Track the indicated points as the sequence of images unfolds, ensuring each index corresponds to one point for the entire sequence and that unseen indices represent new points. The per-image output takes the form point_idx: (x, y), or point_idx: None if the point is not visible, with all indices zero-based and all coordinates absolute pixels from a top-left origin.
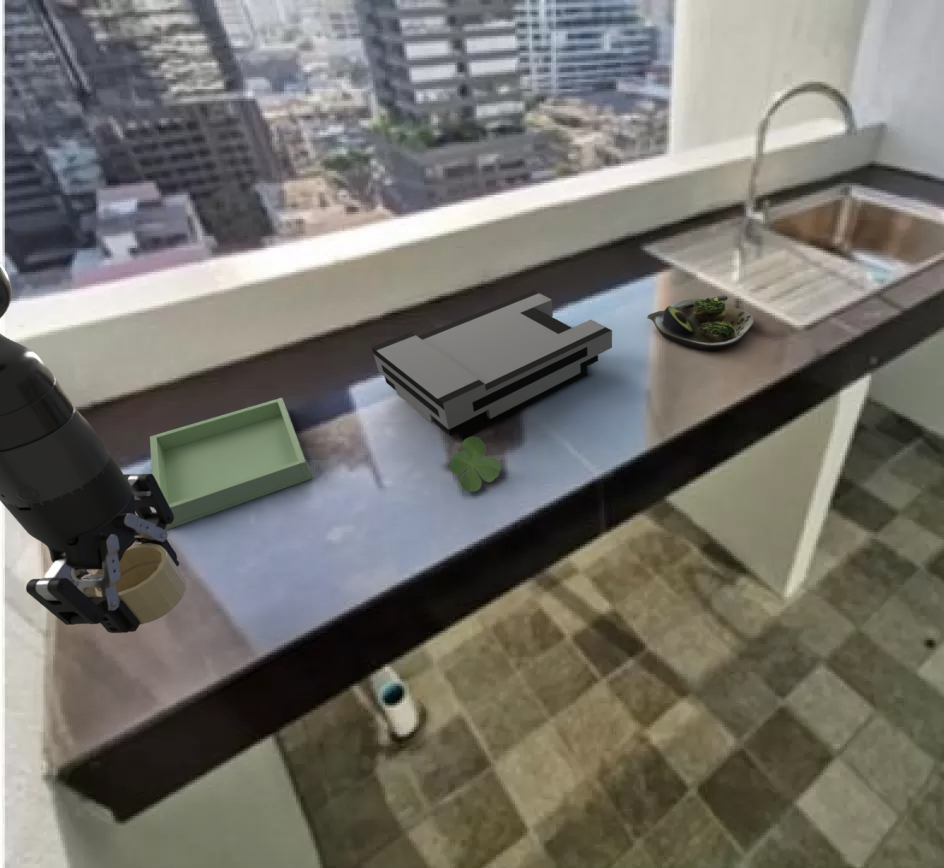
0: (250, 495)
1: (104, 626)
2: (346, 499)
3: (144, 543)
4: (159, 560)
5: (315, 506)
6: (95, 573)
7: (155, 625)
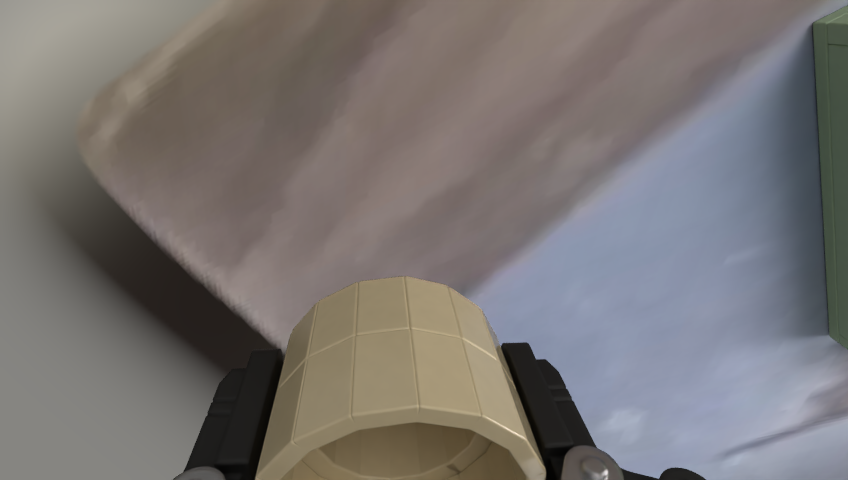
0: (837, 238)
1: (210, 410)
2: (719, 412)
3: (552, 477)
4: (495, 443)
5: (724, 367)
6: (382, 426)
7: (434, 169)
